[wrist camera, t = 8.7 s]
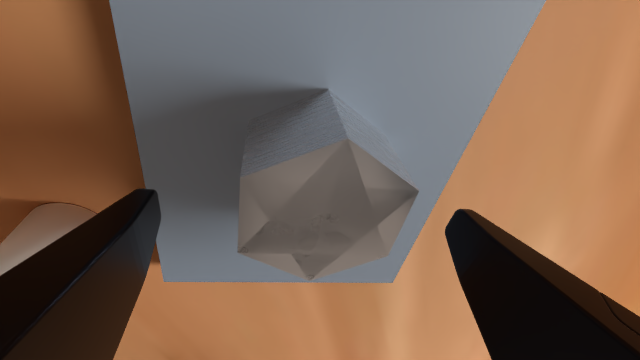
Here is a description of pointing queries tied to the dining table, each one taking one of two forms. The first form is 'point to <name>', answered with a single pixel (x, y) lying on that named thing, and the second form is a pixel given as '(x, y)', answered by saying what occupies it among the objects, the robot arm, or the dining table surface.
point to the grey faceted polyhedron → (320, 189)
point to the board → (295, 84)
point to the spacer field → (40, 231)
